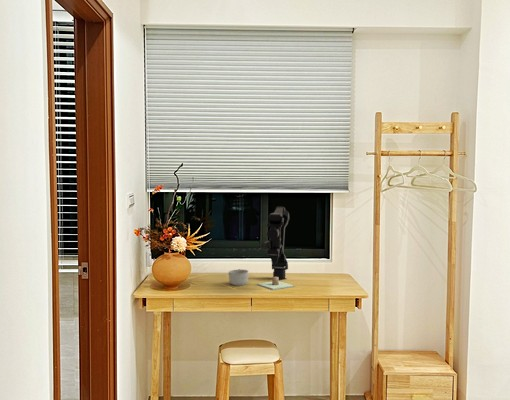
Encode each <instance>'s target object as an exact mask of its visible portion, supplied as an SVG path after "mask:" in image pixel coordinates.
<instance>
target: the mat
mask: <svg viewBox="0 0 510 400" xmlns="http://www.w3.org/2000/svg"><path fill="white" fill-rule="evenodd" d="M258 284H259V283H257V284H255V286H258V287H260V288H265V289H267V290H270V291H277V290H283V289H285V288H280V289H274V290H272V289H269V288H266V287H263V286H260V285H258ZM296 287H297V286H295V285H293V287H287V288H286V289H289V288H296Z"/></svg>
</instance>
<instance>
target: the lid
mask: <svg viewBox="0 0 510 400" xmlns="http://www.w3.org/2000/svg"><path fill="white" fill-rule="evenodd" d="M257 284H258V285H260V286H259V287H261V286H263V287H262V288H264V287H266V288H265V289H267V288H269V289H268V290H270V289H272V290H271V291H275V290H274V289H278V290H281V289H280V288H284V289H288V288H287V287H291V288H294V287H293V286H294V285H293V284H290V283H287V282H283V281H281V280H279V277H273V276H272V277H271V281H266V282H260V283H257Z"/></svg>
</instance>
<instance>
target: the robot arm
mask: <svg viewBox="0 0 510 400" xmlns="http://www.w3.org/2000/svg"><path fill="white" fill-rule="evenodd" d="M289 212H290V211H288V210H287V209H286V207H284V206H276V207H275V210H274V212H272V213H269V215H268V217H267V223H266V224H267V225H266V226H267V228H269V229H267V234H266V235H267V237H268V238H269V239H268V241H263V242H262V241H261V242H260V244H259V248H260V250H261V251H263V250H265V249H267V251H266V254H267V256H268V257H269V258H270V260H271V270H273V272H272V277H279V281H285V280H287V278H286V271H287V270H289V264H288V263H289V262H288V259H287V256H286V255H285V253H284V252H285V251H284V250H285V249H284V248H285V234H286V227H287V226H288V224H289V221H290V213H289Z"/></svg>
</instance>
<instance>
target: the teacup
mask: <svg viewBox="0 0 510 400" xmlns="http://www.w3.org/2000/svg"><path fill="white" fill-rule="evenodd" d="M228 279H229V283H230V284H231V285H232V286H236V287H238V286H239V287H240V286H241V287H243V286H246V284H247V283H248V281H249V270H248V269H241V268H238V269H232V270H229V271H228Z"/></svg>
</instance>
